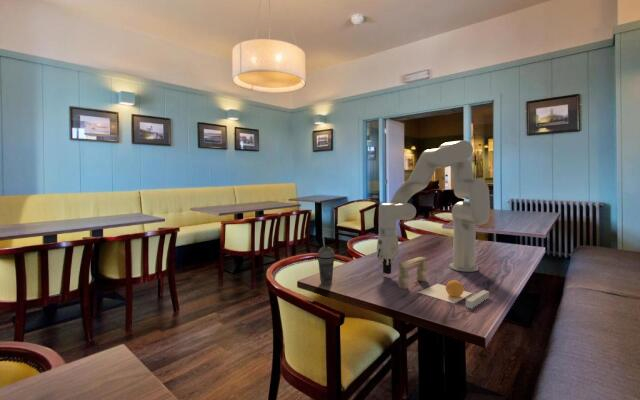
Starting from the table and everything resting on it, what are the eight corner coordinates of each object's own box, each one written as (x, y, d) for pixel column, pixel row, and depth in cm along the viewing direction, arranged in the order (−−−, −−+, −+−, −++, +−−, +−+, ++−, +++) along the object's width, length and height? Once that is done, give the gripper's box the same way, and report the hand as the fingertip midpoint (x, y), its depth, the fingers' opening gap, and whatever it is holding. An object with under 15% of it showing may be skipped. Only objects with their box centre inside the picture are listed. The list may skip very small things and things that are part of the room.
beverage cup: (333, 287, 131) (333, 238, 129) (315, 286, 132) (315, 237, 130) (336, 281, 138) (336, 234, 136) (319, 280, 139) (318, 234, 138)
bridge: (398, 287, 130) (399, 263, 129) (419, 278, 140) (420, 256, 139) (405, 289, 128) (405, 264, 127) (426, 280, 138) (426, 257, 137)
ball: (466, 296, 120) (450, 294, 124) (465, 280, 120) (449, 278, 124) (459, 299, 116) (443, 297, 120) (459, 282, 116) (442, 280, 120)
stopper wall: (483, 296, 120) (483, 289, 120) (488, 298, 118) (489, 291, 118) (465, 307, 111) (465, 300, 111) (471, 309, 109) (471, 301, 109)
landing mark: (437, 284, 133) (437, 283, 133) (472, 293, 123) (472, 293, 123) (418, 292, 124) (418, 292, 124) (454, 303, 114) (454, 303, 114)
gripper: (383, 235, 134) (383, 278, 136) (404, 230, 144) (404, 271, 146) (369, 232, 140) (369, 274, 142) (390, 228, 150) (390, 267, 151)
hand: (387, 273), depth 144 cm, fingers closed
